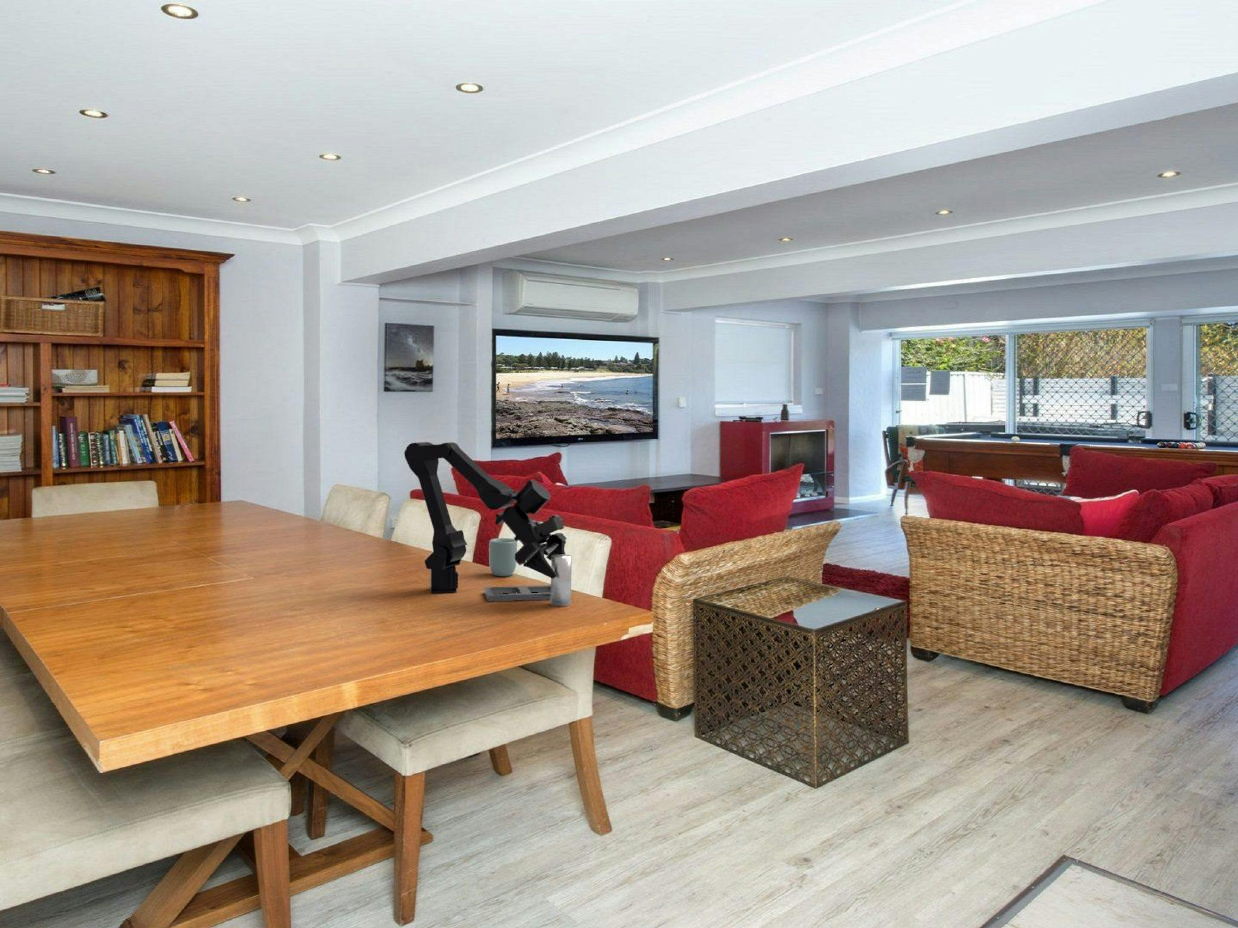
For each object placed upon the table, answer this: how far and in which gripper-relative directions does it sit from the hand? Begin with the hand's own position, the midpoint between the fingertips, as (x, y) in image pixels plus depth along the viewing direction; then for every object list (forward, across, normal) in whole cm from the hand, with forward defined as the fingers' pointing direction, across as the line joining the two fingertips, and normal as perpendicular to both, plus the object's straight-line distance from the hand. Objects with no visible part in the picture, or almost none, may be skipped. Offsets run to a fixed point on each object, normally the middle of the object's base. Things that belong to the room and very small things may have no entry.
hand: (562, 574), depth 219 cm
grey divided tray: (-4, +4, +14) cm, 15 cm away
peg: (+5, 0, +6) cm, 8 cm away
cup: (-16, +25, +27) cm, 40 cm away
